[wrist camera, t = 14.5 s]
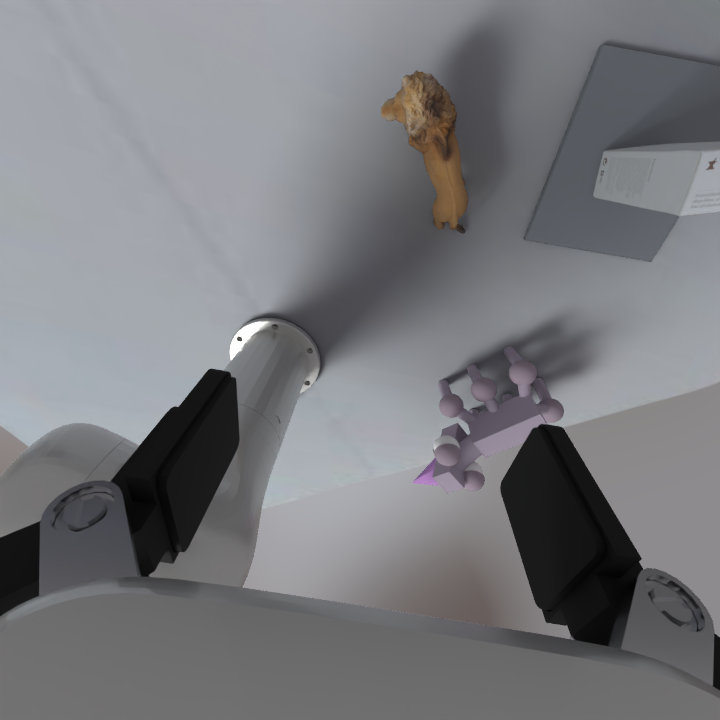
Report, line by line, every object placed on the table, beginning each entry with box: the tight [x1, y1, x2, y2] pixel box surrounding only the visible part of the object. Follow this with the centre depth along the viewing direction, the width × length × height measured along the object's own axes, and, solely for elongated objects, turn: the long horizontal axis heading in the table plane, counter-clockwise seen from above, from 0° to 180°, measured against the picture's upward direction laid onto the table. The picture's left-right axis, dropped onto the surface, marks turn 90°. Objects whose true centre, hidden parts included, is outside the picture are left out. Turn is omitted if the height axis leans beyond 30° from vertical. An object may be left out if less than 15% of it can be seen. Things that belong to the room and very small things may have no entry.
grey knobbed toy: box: [413, 346, 564, 493], centre depth 44 cm, size 20×11×14 cm, turn 128°
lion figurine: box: [381, 71, 468, 234], centre depth 31 cm, size 15×5×9 cm, turn 32°
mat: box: [524, 45, 720, 262], centre depth 33 cm, size 16×14×1 cm
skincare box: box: [593, 142, 720, 216], centre depth 28 cm, size 6×4×12 cm
